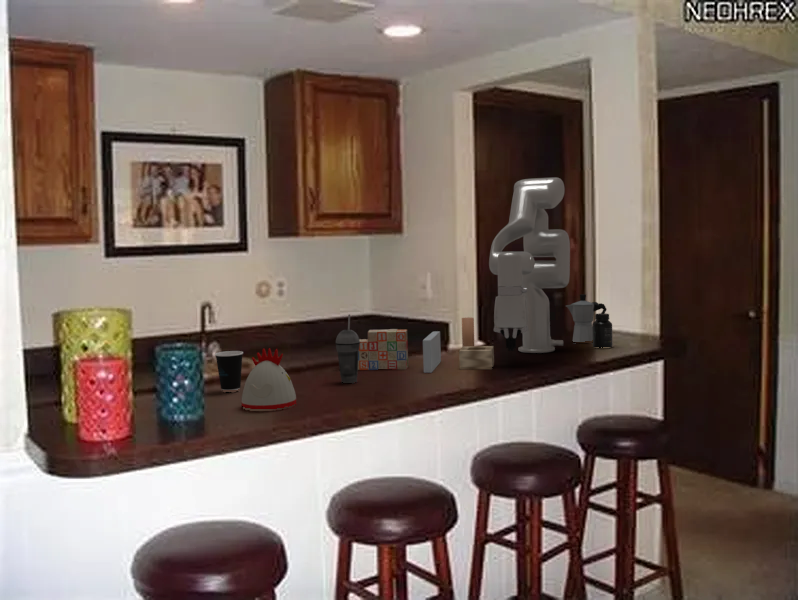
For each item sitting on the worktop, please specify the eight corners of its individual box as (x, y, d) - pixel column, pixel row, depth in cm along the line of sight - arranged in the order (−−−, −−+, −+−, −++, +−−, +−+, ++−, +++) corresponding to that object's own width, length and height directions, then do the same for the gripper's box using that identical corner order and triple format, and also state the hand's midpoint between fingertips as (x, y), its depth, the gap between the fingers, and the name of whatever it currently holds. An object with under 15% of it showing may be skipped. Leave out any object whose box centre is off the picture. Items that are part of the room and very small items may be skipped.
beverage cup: (350, 379, 249) (347, 312, 247) (366, 381, 243) (364, 313, 242) (331, 382, 243) (328, 314, 242) (348, 385, 238) (345, 316, 237)
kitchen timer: (286, 412, 205) (284, 351, 204) (233, 412, 208) (230, 352, 207) (302, 400, 219) (300, 344, 218) (253, 400, 221) (250, 344, 220)
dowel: (475, 358, 280) (474, 317, 278) (474, 360, 276) (473, 318, 274) (463, 358, 280) (462, 317, 279) (462, 360, 276) (461, 318, 275)
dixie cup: (247, 388, 239) (245, 350, 238) (242, 393, 231) (240, 354, 231) (219, 389, 239) (217, 351, 238) (213, 394, 231) (211, 355, 231)
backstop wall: (440, 361, 277) (440, 331, 276) (431, 372, 255) (430, 340, 254) (433, 361, 277) (432, 331, 276) (423, 372, 256) (422, 340, 255)
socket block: (494, 364, 267) (493, 346, 267) (491, 369, 258) (491, 350, 257) (463, 364, 269) (462, 346, 269) (459, 370, 259) (459, 350, 259)
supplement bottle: (612, 346, 298) (611, 312, 297) (612, 349, 291) (612, 314, 290) (592, 346, 299) (592, 313, 298) (592, 349, 293) (592, 315, 292)
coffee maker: (566, 344, 307) (565, 295, 305) (565, 341, 315) (564, 293, 314) (608, 343, 304) (607, 294, 303) (606, 340, 313) (605, 292, 311)
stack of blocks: (340, 370, 265) (338, 332, 264) (343, 367, 272) (342, 330, 271) (407, 369, 263) (405, 331, 262) (408, 366, 269) (407, 328, 268)
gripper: (534, 291, 262) (535, 349, 263) (487, 291, 264) (488, 349, 265) (534, 292, 254) (535, 352, 255) (485, 293, 257) (486, 352, 258)
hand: (511, 350), depth 260 cm, fingers closed
